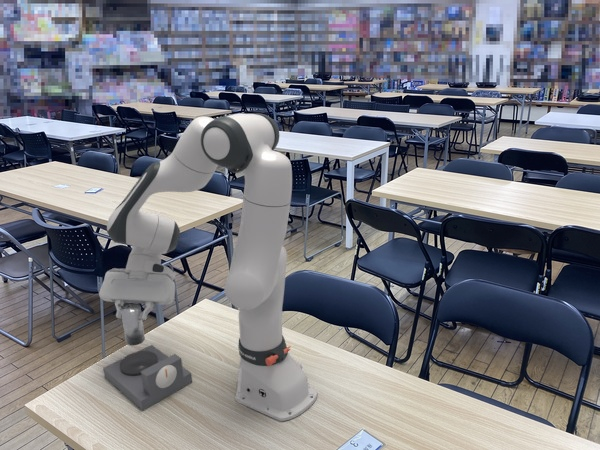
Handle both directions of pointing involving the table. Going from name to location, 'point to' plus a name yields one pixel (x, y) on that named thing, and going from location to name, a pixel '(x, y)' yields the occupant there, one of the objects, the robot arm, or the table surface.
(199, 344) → the table surface
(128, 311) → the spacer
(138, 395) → the scale
